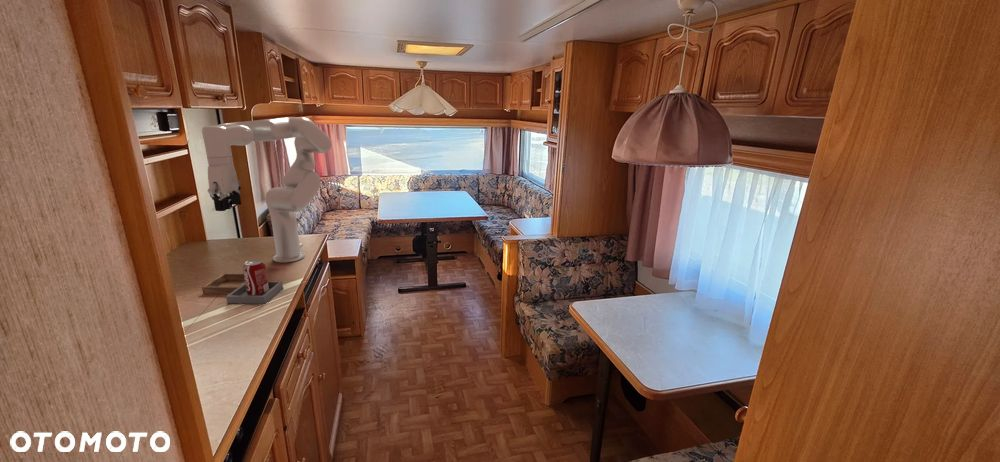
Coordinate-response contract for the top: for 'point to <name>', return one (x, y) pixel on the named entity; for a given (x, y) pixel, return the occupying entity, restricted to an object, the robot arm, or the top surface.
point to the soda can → (255, 277)
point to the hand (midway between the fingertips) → (229, 207)
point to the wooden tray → (212, 286)
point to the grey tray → (243, 298)
